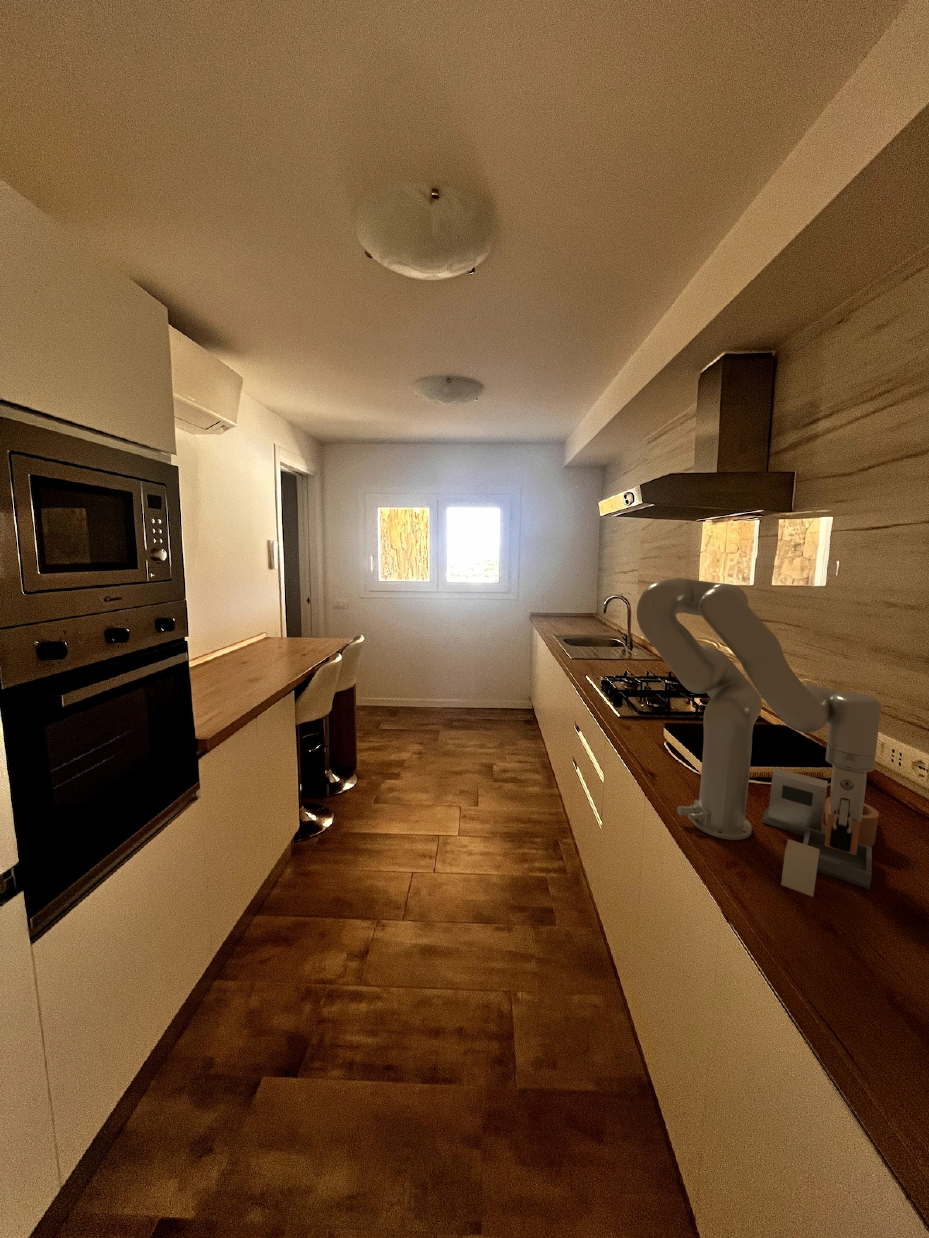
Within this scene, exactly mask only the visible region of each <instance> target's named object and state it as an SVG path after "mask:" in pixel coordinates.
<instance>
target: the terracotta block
mask: <svg viewBox="0 0 929 1238" xmlns="http://www.w3.org/2000/svg"><path fill="white" fill-rule="evenodd" d="M837 813H838V814H840V811H838V809H837ZM847 816H849V817H850V814H848V815H847ZM837 821H839V818H837ZM847 823H848V820H847ZM833 824H834V815H833V814H832V813H831V809H830V804H829V810H828V818H827V824H826V826H827V827H826V836H825V845H824V846H827V847H830V848H833V847H831V846H830V837H831V828H832V827H833ZM859 828H860V822H857V821H856V820H853V817H852V824H851V832H852V839H851V847H850V852H846V851H843V852H846V853H850V854H853V855H856V853H857V844H858V836H859ZM833 849H836V848H833ZM837 850H839V849H837ZM840 851H842V850H840Z"/></svg>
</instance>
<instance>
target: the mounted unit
mask: <svg viewBox="0 0 929 1238" xmlns="http://www.w3.org/2000/svg"><path fill="white" fill-rule="evenodd" d="M771 776H772V778H771V787H770V794H769V802H768V803H769V804H768V807H766V808H765V811H764V813H763V815H762V817H761V824H764V825H767V826H769V827H770V826H771V827H775V828H777V829H781V830H782V831H787V832H790V833H793V834H796V835H800V836H802V837H804V836H805V832H806V828H811V829H814V830H817V831H820V832H824V833H826V827H827V825H826V824H825V825H824V824H823V823H824V822H823V820H824V816H825V815H824V814H825V803H826V799H827V789H828V783H829V782H828V780H824V779H820V778H817V777H813V776H808V775H804V774H800V773H797V772H794V771H789V770H785V769H781V768H777V767H774V770H773V773H772V775H771Z"/></svg>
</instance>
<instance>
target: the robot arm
mask: <svg viewBox="0 0 929 1238" xmlns="http://www.w3.org/2000/svg"><path fill="white" fill-rule="evenodd" d="M680 613H681V614H688V615H693V616H700V617H702V618H703V619H704V621H705V622H706V624H708V625H709V627H710V628H711V629H712V630H713V632H714V633H715V634H716V635H717V636H718V637H719V638H720V639H721V641H722V642H723V643H724V644H725V645H726V647H727V648H728V649H729V650H730V651H731V652H732V654H733V655H734V656H735V658H736V659H737V660H738V661H739V662H740V664H741V667H742V668H743V670H744V672H745V674H746V675H747V677H748V678H749V679H750V681H751V683H750V681H749V680H748V679H747V677H746V676H745V675H744V674H743V673H742V672H741V670H740V669H739V668H738V667H737V666H736V665H735V663H734V662H733V661H732V659H730V657H729V656H727V654H726V653H724V651H722V650H720V649H719V648H716V647H713V646H708V645H704V646H702V645H701V644H700V643H699V642H698V641H697V640H696V638H695V637H694V635H693V634H692V633H691V632H690V630H689V629H687V627H685V625H683V624H682V623H681V622H680V621H679V620H678V617H677V615H678V614H680ZM636 621H637V624H638V627H639V629H640V631H641V632H642V634H643V636H644V637H645V638H646V640H647V641H648V642H649V643H650V645H652V647H653V648H654V649H655V651H656V652H657V653H658V655H659V656H660V658H661V660H663V662H664V663H665V664H666V666H667V668H669V670H670V671H671V672H672V673H673V674H674V676H675V677H676V678H677V680H678V681H679V682H680V684H681V685H682V686H683V687H684V688H685V689H686V690H688V691H689V692H691V693H693V694H700V695H701V694H705V693H706V694H707V696H708V697H710V700H709V701H708V702H707V704H706V706H705V708H704V713H703V722H702V723H703V746H702V759H701V760H702V761H701V771H700V772H701V774H700V785H699V794H698V799H694V802H693V804H690V805H689V806H686V805H677V807H676V811H677V814H678V815H679V816H687V818H688V820H690V821H691V823H692V824H693V825H694V827H696V828H697V829H698V830H700V831H701V832H703V833H705V834H707V835H709V836H712V837H715V838H718V839H722V840H728V841H738V840H739V841H740V840H744V839H748V838H749V837H750V836H751V835H752V831H753V827H752V824H751V822H750V821H749V820H748V819H747V818H746V813H747V811H746V809H747V802H748V801H747V800H748V792H749V791H748V790H749V782H750V772H751V771H750V770H751V762H752V761H751V760H752V750H753V749H752V748H753V747H752V746H753V731H754V726H755V723H756V721H757V719H758V717H759V716H760V714H761V711H762V707H763V705H762V699H763V701H765V703H766V704H767V705H768V706H769V707H770V709H771V710H772V711H773V712H774V713H775V714H776V716H777V717H778V718H779V719H780V720H781V721H782V722H783V723H784V724H785V725H787V726H788V727H789V728H791V729H792V730H794V731H797V732H799V733H804V734H805V733H807V734H808V733H809V734H810V733H811V734H812V733H814V732H818V731H820V730H821V729H823V728H824V726H825V725H826V724H827V725H828V730H827V731H828V733H827V742H826V752H825V761H826V762H827V763H829V764H830V765H831V766H832V768H831V779H830V780H831V781H830V791H829V792H830V794H829V795H830V796H829V797H830V809H831V813H832V814H833V815H834V824H833V827H832V828H831V837H830V846H831V847H833V848H836V849H839V850H842V851H846V852H850V847H851V839H852V832H851V824H852V817H853V820H856V821H857V822H861V821H862V813H863V805H864V803H865V795H866V787H867V776H868V775H867V773H870V772H873V771H874V770H875V763H876V755H877V748H878V747H877V746H878V737H879V730H880V724H881V722H880V721H881V714H882V711H881V710H882V706H881V703H880V701H879V700H878V699H877V698H874V697H873V696H870V695H866V694H862V693H857V692H841V691H837V690H833V689H830V688H826V687H822V686H818V685H813V684H804V683H803V682H802V681H801V680H800V679H799V678H798V676H797V675H796V674H795V672H794V671H793V669H792V668H791V667H790V665H789V663H788V662H787V659H786V657H785V655H784V652H783V649H782V645H781V643H780V641H779V639H778V638H777V636H776V635H775V634H774V633H773V632H772V630H770V628H769V627H768V626H767V625H766V624H765V623H764V622H763V620H761V618H759V616H758V615H757V614H756V613H755V612H754V611H753V609H752V608H751V607H750V606H749V598H748V596H747V594H746V593H745V591H744V590H743V589H742V588H741V587H739V586H737V585H735V584H730V583H722V582H713V581H705V580H699V579H698V580H697V579H689V578H684V577H683V578H682V577H681V578H680V577H676V578H674V577H673V578H669V579H663V580H660V581H656V582H654V583H652V584H650V585H649V586H647V588H645V590H644V591H643V592H642V594H641V596H640V597H639V599H638V602H637V606H636ZM752 684H753V685H752ZM761 698H762V699H761ZM837 809H838V811H840V814H838V813H837ZM848 814H850V817H849V816H847V815H848ZM837 818H839V821H837ZM847 820H848V823H847Z"/></svg>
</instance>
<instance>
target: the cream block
mask: <svg viewBox="0 0 929 1238" xmlns="http://www.w3.org/2000/svg"><path fill="white" fill-rule="evenodd" d="M819 850H820V849H817V848H814V847H811V846H808V845H805V844H803V842H802V843H801V842H799V841H796V840H792V839H787V843H786V847H785V850H784V856H783V857H784V859H783V866H782V867H783V868H782V874H781V886H783V887H786V888H789V889H791V890H794V891H796V892H799V893H802V894H805V895H807V896H809V897H814V895H815V894H814V893H815V887H816V879H817V873H818V872H817V866H818V858H819Z"/></svg>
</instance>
